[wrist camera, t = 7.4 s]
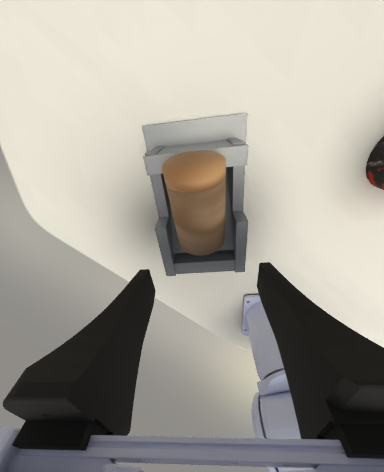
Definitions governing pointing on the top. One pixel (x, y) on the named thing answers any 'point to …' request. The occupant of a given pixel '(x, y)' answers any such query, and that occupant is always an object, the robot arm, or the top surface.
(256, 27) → the top surface
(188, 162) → the dowel
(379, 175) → the deodorant
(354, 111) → the top surface
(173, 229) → the socket
